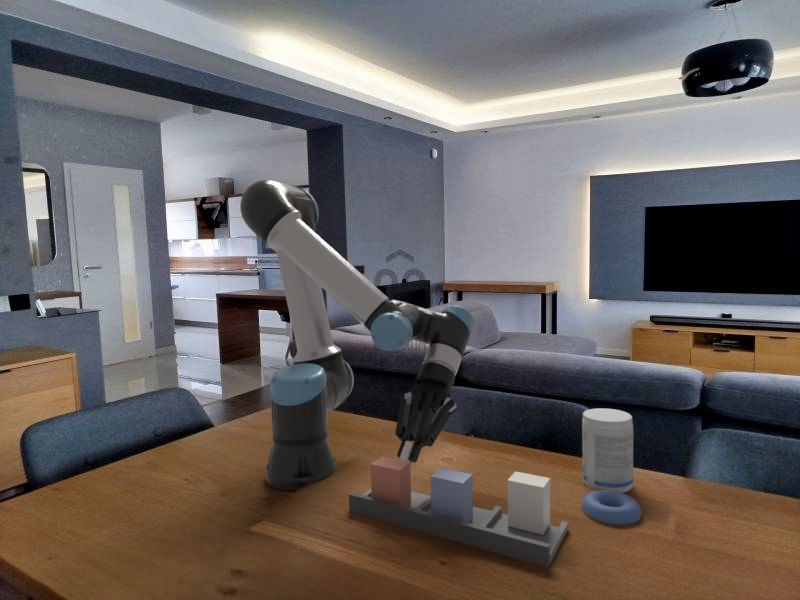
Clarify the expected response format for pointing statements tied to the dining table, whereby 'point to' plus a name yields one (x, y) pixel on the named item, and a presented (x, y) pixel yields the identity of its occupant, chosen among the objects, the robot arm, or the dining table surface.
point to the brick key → (391, 481)
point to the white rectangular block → (529, 502)
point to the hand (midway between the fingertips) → (400, 476)
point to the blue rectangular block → (452, 494)
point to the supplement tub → (607, 449)
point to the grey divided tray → (466, 527)
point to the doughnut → (611, 507)
